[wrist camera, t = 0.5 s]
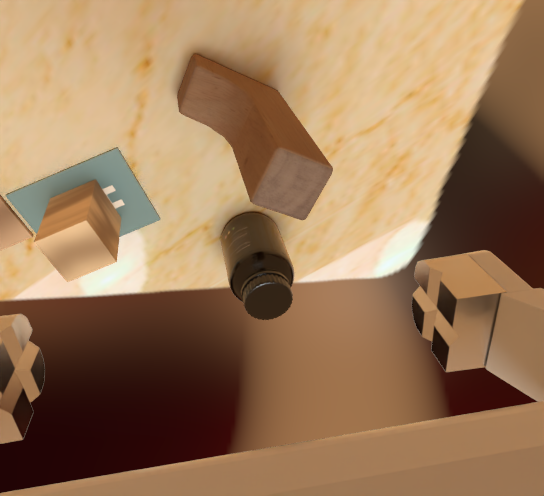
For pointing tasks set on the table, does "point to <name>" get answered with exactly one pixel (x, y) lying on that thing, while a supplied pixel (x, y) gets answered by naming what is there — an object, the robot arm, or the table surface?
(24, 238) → the cork mat
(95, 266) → the oak block
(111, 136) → the table surface
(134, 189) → the tile
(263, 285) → the supplement bottle
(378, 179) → the table surface
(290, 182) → the wooden block
